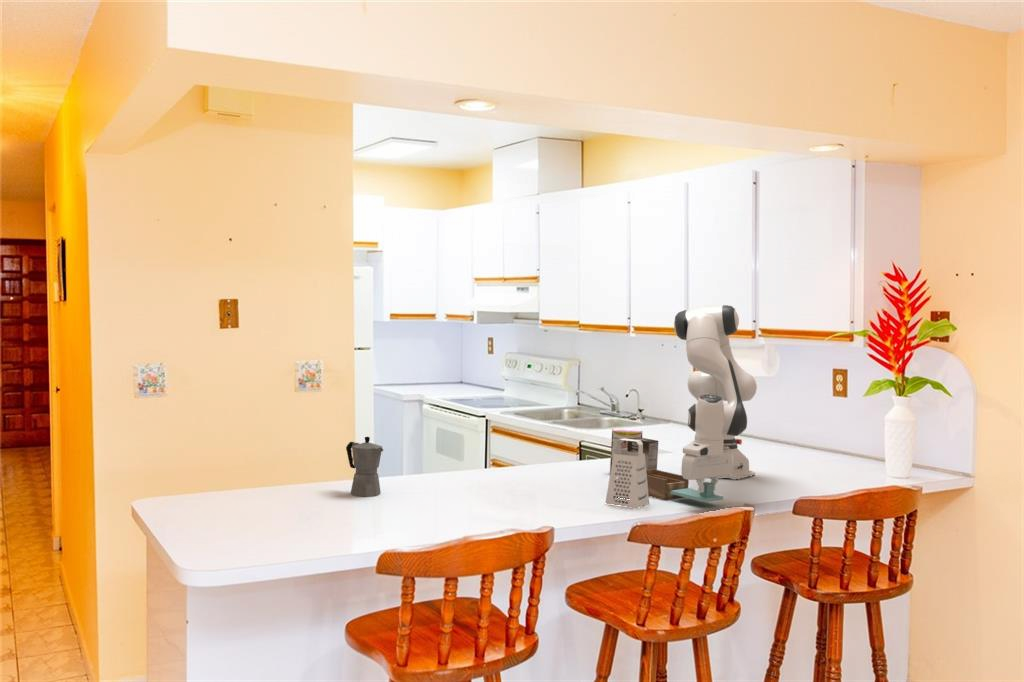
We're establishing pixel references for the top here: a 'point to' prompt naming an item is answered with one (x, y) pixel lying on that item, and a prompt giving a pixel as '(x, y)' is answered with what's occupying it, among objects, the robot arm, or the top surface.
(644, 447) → the coffee box
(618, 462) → the grater
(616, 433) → the candy bar box
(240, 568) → the top surface
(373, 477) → the coffeepot
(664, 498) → the walnut box
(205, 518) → the top surface
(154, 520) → the top surface
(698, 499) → the cover plate
